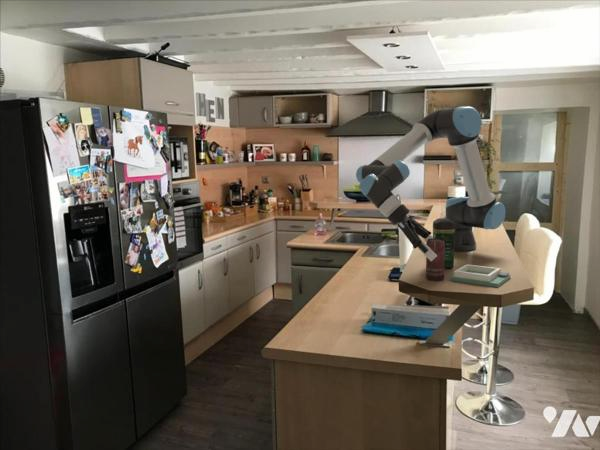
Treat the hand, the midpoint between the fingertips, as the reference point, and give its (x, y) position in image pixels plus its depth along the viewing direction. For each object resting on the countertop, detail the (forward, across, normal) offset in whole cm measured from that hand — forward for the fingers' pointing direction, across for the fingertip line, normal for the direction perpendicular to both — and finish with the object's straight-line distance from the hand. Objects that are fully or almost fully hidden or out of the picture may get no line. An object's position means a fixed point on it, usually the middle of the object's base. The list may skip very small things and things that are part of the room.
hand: (437, 254), depth 170 cm
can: (+6, 0, -7) cm, 9 cm away
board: (+16, -5, +4) cm, 17 cm away
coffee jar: (+6, -20, -7) cm, 22 cm away
